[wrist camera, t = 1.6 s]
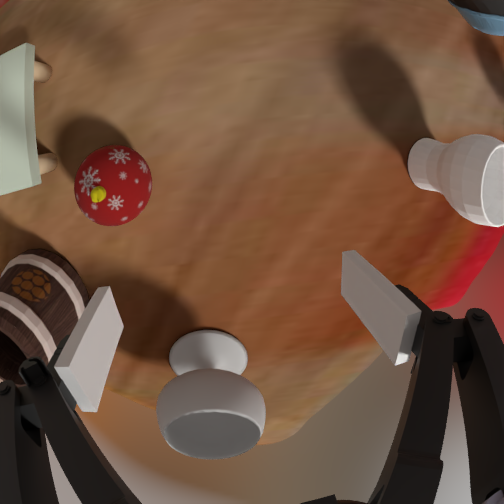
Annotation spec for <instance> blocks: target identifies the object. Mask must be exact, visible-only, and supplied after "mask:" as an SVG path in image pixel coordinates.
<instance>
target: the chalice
mask: <svg viewBox="0 0 504 504" xmlns="http://www.w3.org/2000/svg"><path fill="white" fill-rule="evenodd" d="M247 361H248V356H247V351H246V349H245V347H244V346H243V344H242V343H241V342H240V341H239V340H238V339H236V338H235V337H233V336H232V335H229V334H227V333H225V332H221V331H216V330H200V331H195V332H192V333H188V334H186V335H184V336H183V337H181V338H180V339H178V340H177V341H176V342H175V343H174V345H173V346H172V348H171V350H170V354H169V362H170V365H171V368H172V369H173V371H174V372H175V374H177V375H178V376H177V377H175V378H174V379H172V380H171V381H170V382H168V383H167V384H166V385H165V387H164V388H163V389H162V391H161V393H160V394H159V396H158V401H157V408H156V412H157V419H158V424H159V427H160V430H161V433H162V435H163V437H164V438H165V440H166V441H167V443H168V444H169V445H170V446H171V447H172V448H173V449H175V450H176V451H178V452H180V453H182V454H184V455H187V456H191V457H196V458H200V459H223V458H230V457H233V456H237V455H240V454H242V453H245V452H247V451H248V450H249V449H251V448H253V447H254V446H255V445H256V444H257V442H258V441H259V439H260V437H261V435H262V433H263V429H264V424H265V415H266V411H265V404H264V400H263V396H262V395H261V393H260V391H259V390H258V389H257V387H256V386H255V385H254V384H253V383H252V382H250V381H249V380H248V379H246V378H244V377H242V376H241V374H242V372H243V371H244V370H245V368H246V366H247Z"/></svg>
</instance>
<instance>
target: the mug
mask: <svg viewBox="0 0 504 504" xmlns="http://www.w3.org/2000/svg"><path fill="white" fill-rule="evenodd" d="M88 303H89V298H88V294H87V290H86V288H85V286H84V284H83V282H82V280H81V279H80V277H79V275H78V274H77V273H76V271H75V270H74V269H73V268H72V267H71V266H70V265H69V264H68V263H67V262H66V261H65V260H63V259H62V258H60V257H59V256H57V255H56V254H54V253H52V252H49V251H45V250H42V249H34V250H27V251H26V252H24V253H22V254H20V255H19V256H17V257H16V258H14V259H12V260H10V262H9V263H8V265H7V266H6V268H5V269H4V271H3V272H2V274H1V278H0V378H1V379H2V380H3V381H5V380H12V381H13V382H14V383H15V384H16V386H17V387H22V386H26V383H25V382H24V380H23V379H22V377H21V376H20V374H19V367H20V365H21V364H22V363H23V362H24V361H25V360H27V359H28V358H31V357H35V356H38V357H41V358H42V360H43V361H44V363H45V365H46V366H47V365H48V363H49V361H50V359H51V357H52V355H54V352H55V350H56V349H57V346H58V344H59V342H60V341H61V340H62V339H63V338H64V337H65V336H66V335H71V333H72V331H73V329H74V328H75V326H76V324H77V322H78V320H79V319H80V317H81V315H82V313H83V312H84V310H85V308H86V307H87V305H88Z"/></svg>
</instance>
